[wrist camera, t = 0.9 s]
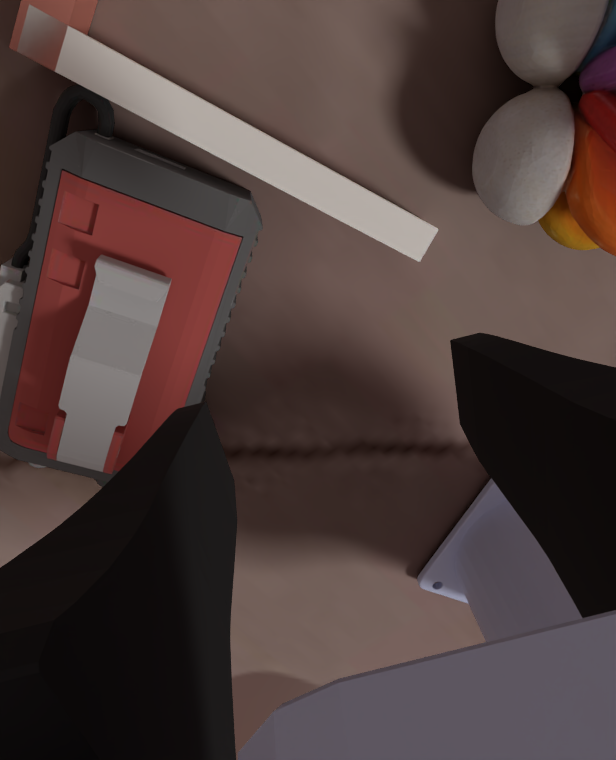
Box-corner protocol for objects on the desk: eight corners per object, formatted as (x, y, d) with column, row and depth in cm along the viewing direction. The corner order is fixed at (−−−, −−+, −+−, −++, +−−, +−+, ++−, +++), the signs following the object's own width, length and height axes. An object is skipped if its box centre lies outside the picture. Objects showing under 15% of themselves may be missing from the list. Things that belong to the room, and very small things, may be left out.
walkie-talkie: (14, 52, 17) (-65, 541, 24) (-57, 33, 13) (-126, 624, 20) (283, 165, 19) (135, 581, 26) (294, 178, 15) (115, 664, 22)
